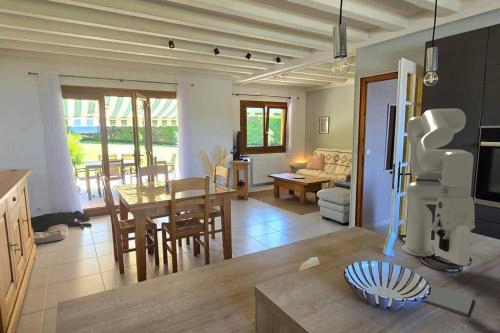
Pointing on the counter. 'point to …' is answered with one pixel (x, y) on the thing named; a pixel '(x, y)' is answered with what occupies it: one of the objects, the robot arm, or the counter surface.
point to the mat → (450, 300)
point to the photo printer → (456, 245)
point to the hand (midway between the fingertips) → (451, 249)
